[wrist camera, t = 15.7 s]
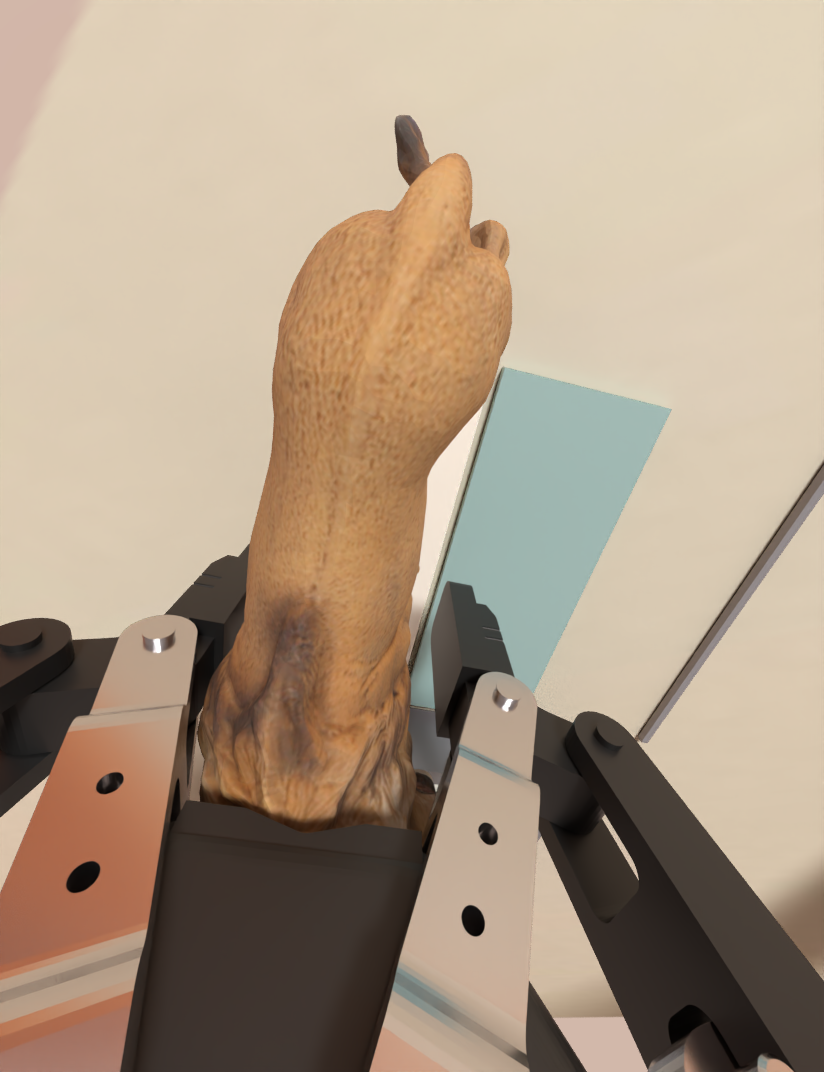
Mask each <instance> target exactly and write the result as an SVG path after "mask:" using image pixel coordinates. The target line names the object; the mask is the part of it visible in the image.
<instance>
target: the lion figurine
mask: <svg viewBox="0 0 824 1072" xmlns="http://www.w3.org/2000/svg"><path fill="white" fill-rule="evenodd" d="M395 135H396V143H397V159H398V167H399V170H400V172H401V174H402V176H403V178H404V179H405V180H406V182H407V183H408V185H409V186H410V187H409V189H408V191H407V192H406V194H405V196H404V197H403V199H402V200H401V202H400V203H399V204H398V206H397V207H396V208H395V209H394V210H392V211H383V210H373V211H367V212H362V213H360V214H357V215H355V216H352V217H350V218H349V219H347V220H345V221H344V222H342V223H340V224H339V225H337V226H335V227H333V228H332V229H330V230H329V231H328V232H327V233H326V234H325V235H324V236H323V237H322V238H321V239H320V240H319V241H318V243H317V244H316V245H315V247H314V248H313V250H312V251H311V253H310V254H309V256H308V257H307V259H306V261H305V263H304V265H303V266H302V268H301V270H300V272H299V274H298V276H297V278H296V280H295V282H294V284H293V286H292V288H291V291H290V294H289V296H288V299H287V302H286V304H285V307H284V310H283V313H282V316H281V320H280V323H279V333H278V344H277V350H276V357H275V363H274V368H273V382H272V399H273V410H274V427H273V441H272V452H271V458H270V463H269V468H268V472H267V476H266V480H265V484H264V488H263V492H262V496H261V500H260V504H259V508H258V512H257V516H256V521H255V524H254V528H253V532H252V536H251V541H250V546H249V557H248V569H247V583H246V601H245V609H244V623H243V624H242V626H241V628H240V630H239V632H238V634H237V636H236V639H235V642H234V645H233V648H232V649H231V650H230V651H229V653H228V654H227V655H226V656H225V658H224V659H223V660H222V662H221V663H220V664H219V666H218V668H217V669H216V671H215V672H214V674H213V676H212V678H211V680H210V683H209V686H208V689H207V692H206V696H205V700H204V707H203V711H202V713H201V716H200V722H199V726H198V731H197V735H198V742H199V746H200V749H201V753H202V755H203V757H204V759H205V760H204V766H203V773H202V777H201V786H200V802H205V803H212V804H220V805H228V806H235V807H243V808H248V809H250V810H252V811H254V812H256V813H259V814H261V815H263V816H265V817H267V818H270V819H272V820H274V821H276V822H279V823H281V824H283V825H285V826H287V827H290V828H292V829H294V830H296V831H299V832H302V833H312V832H318V831H324V830H331V829H337V828H343V827H350V826H356V825H363V824H371V825H378V826H386V827H393V828H401V829H408V830H416V831H422V836H423V832H424V829H425V826H426V823H427V819H428V816H429V813H430V810H431V807H432V804H433V800H434V797H435V794H436V791H435V786H434V783H433V779H432V777H431V775H430V774H429V772H427V771H425V770H420V769H414V768H413V763H412V737H411V734H410V732H409V731H408V723H409V714H410V705H411V679H410V675H409V668H408V664H407V661H406V656H407V652H408V649H409V646H410V641H411V632H410V628H409V620H410V615H411V610H412V600H413V599H412V590H413V587H414V584H415V580H416V576H417V574H418V573H419V570H420V566H419V562H420V554H421V547H422V539H423V531H424V522H425V513H426V503H427V478H428V476H429V473H430V471H431V468H432V467H433V465H434V464H435V462H436V461H437V459H438V458H439V456H440V455H441V454H442V453H443V452H444V450H445V449H446V448H447V447H448V446H449V444H450V443H451V442H452V441H453V439H454V438H455V437H456V436H457V435H458V433H459V432H460V431H461V430H462V429H463V427H464V426H465V425H466V424H467V423H468V422H469V421H470V419H471V418H472V417H473V416H474V415H475V414H476V413H477V412H478V411H479V409H480V408H481V407H482V405H483V404H484V403H485V401H486V399H487V397H488V394H489V392H490V390H491V388H492V386H493V382H494V379H495V376H496V372H497V369H498V366H499V361H500V357H501V355H502V353H503V351H504V349H505V347H506V345H507V342H508V339H509V335H510V329H511V324H512V293H511V285H510V280H509V276H508V272H507V270H506V268H505V263H506V261H507V258H508V256H509V240H508V236H507V232H506V229H505V228H504V227H503V225H501V224H500V223H498V222H497V221H493V220H487V221H484V222H482V223H480V224H478V225H476V226H474V227H473V228H471V229H470V225H469V222H470V215H471V209H472V179H471V172H470V169H469V166H468V163H467V161H466V160H465V159H464V158H463V157H462V156H461V155H459V154H456V153H453V154H447V155H445V156H443V157H440V158H439V159H437V160H436V161H435V162H434V163H433V164H432V165H431V163H429V154H428V152H427V150H426V149H425V147H424V143H423V139H422V134H421V131H420V129H419V128H418V126H417V124H416V122H415V121H414V120H413V119H412V118H411V117H410V116H408V115H399V116H397V117H396V119H395Z"/></svg>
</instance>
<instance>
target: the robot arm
mask: <svg viewBox="0 0 824 1072" xmlns="http://www.w3.org/2000/svg"><path fill="white" fill-rule="evenodd" d="M249 546H250V544H249V545H248V546H247V547H246V548H245V550H244V551H243V552H242V553H241V555H240V556H239V557H235V556H230V555H227V556H225V557H223V558H221V559H219V560H217V561H215V562H213V563H211V565H210V566H209V567H208V568H207V569H206V570H205V571H204V572H203V573H202V576H199V578H198V579H197V580H196V581H195V582H194V585H191V586H190V587H189V588H188V589H187V591H186V592H185V593H184V594H183V595H182V596H181V597H180V598H179V599H178V600H177V601H176V603H175V604H174V605H173V606H172V607H171V608H170V609H169V610H168V611H167V612H166V613H165V614H164V615H158V616H152V617H149V618H145V619H142V620H140V621H137V622H135V623H133V624H132V625H130V626H129V627H128V628H126V629H125V630H124V631H123V632H122V634H121V635H120V637H116V638H102V639H82V640H72V635H71V630H70V628H69V626H68V625H66V624H65V623H63V622H61V621H59V620H55V619H49V618H32V619H24V620H19V621H15V622H11V623H8V624H5V625H2V626H0V817H1V816H3V815H4V814H5V813H6V812H7V811H8V810H9V809H11V808H12V807H13V806H14V805H15V804H16V803H17V802H19V801H20V800H21V799H22V798H23V797H24V796H25V795H27V794H28V793H29V792H30V791H31V790H32V789H33V788H35V787H36V786H37V785H38V784H39V783H40V782H42V781H43V780H44V779H45V778H46V777H47V776H48V775H49V777H48V780H47V782H46V784H45V787H44V789H43V792H42V794H41V796H40V799H39V801H38V804H37V806H36V808H35V811H34V813H33V816H32V818H31V820H30V823H29V825H28V828H27V830H26V832H25V835H24V837H23V840H22V842H21V844H20V847H19V849H18V852H17V854H16V856H15V859H14V861H13V864H12V866H11V868H10V871H9V873H8V876H7V878H6V880H5V883H4V885H3V887H2V890H1V892H0V1072H587V1071H586V1070H585V1068H584V1067H583V1065H582V1063H581V1062H580V1060H579V1059H578V1057H577V1056H576V1054H575V1052H574V1051H573V1049H572V1048H571V1046H570V1045H569V1043H568V1041H567V1040H566V1038H565V1037H564V1035H563V1034H562V1032H561V1030H560V1029H559V1027H558V1026H557V1024H556V1022H555V1021H554V1019H553V1018H552V1016H551V1014H550V1013H549V1011H548V1010H547V1008H546V1007H545V1005H544V1003H543V1002H542V1000H541V999H540V997H539V996H538V994H537V992H536V991H535V989H534V988H533V986H532V984H531V983H530V981H529V970H530V954H531V937H532V921H533V905H534V889H535V873H536V857H537V841H538V829H539V832H540V834H541V836H542V838H543V840H544V843H545V845H546V847H547V849H548V851H549V854H550V856H551V858H552V860H553V862H554V865H555V867H556V869H557V871H558V873H559V876H560V878H561V880H562V882H563V884H564V887H565V889H566V891H567V893H568V895H569V898H570V900H571V902H572V904H573V906H574V909H575V911H576V913H577V915H578V917H579V920H580V922H581V924H582V926H583V928H584V931H585V933H586V935H587V937H588V939H589V942H590V944H591V946H592V948H593V950H594V953H595V955H596V957H597V959H598V961H599V964H600V966H601V968H602V970H603V972H604V975H605V977H606V979H607V981H608V983H609V986H610V988H611V990H612V992H613V994H614V997H615V999H616V1001H617V1003H618V1005H619V1008H620V1010H621V1012H622V1014H623V1016H624V1018H625V1021H626V1023H627V1025H628V1027H629V1029H630V1032H631V1034H632V1036H633V1038H634V1041H635V1042H636V1045H637V1047H638V1049H639V1051H640V1053H641V1056H642V1058H643V1060H644V1063H645V1064H646V1067H647V1069H648V1072H824V981H823V980H822V978H821V977H820V976H819V974H818V973H817V972H816V971H815V969H814V968H813V967H812V965H811V964H810V963H809V962H808V960H807V959H806V958H805V956H804V955H803V954H802V953H801V951H800V950H799V949H798V948H797V946H796V945H795V944H794V942H793V941H792V940H791V939H790V937H789V936H788V935H787V933H786V932H785V931H784V930H783V928H782V927H781V926H780V924H779V923H778V922H777V921H776V919H775V918H774V917H773V916H772V914H771V913H770V912H769V910H768V909H767V908H766V907H765V905H764V904H763V903H762V901H761V900H760V899H759V898H758V896H757V895H756V894H755V893H754V891H753V890H752V889H751V887H750V886H749V885H748V884H747V882H746V881H745V880H744V878H743V877H742V876H741V875H740V873H739V872H738V871H737V869H736V868H735V867H734V866H733V864H732V863H731V862H730V861H729V859H728V858H727V857H726V855H725V854H724V853H723V852H722V850H721V849H720V848H719V846H718V845H717V844H716V843H715V841H714V840H713V839H712V837H711V836H710V835H709V834H708V832H707V831H706V830H705V829H704V827H703V826H702V825H701V823H700V822H699V821H698V820H697V818H696V817H695V816H694V814H693V813H692V812H691V811H690V809H689V808H688V807H687V806H686V804H685V803H684V802H683V800H682V799H681V798H680V797H679V795H678V794H677V793H676V791H675V790H674V789H673V788H672V786H671V785H670V784H669V782H668V781H667V780H666V779H665V777H664V776H663V775H662V774H661V772H660V771H659V770H658V768H657V767H656V766H655V765H654V763H653V762H652V761H651V759H650V758H649V757H648V756H647V754H646V753H645V752H644V750H643V749H642V748H641V747H640V745H639V744H638V743H637V742H636V740H635V739H634V738H633V736H632V735H631V734H630V733H629V732H628V731H627V730H626V729H625V728H624V727H623V726H621V725H620V724H619V723H618V722H616V721H615V720H613V719H611V718H609V717H608V716H605V715H603V714H600V713H597V712H589V711H587V712H582V713H580V714H579V715H578V716H577V717H576V719H575V720H574V722H573V723H572V722H569V721H567V720H565V719H563V718H560V717H558V716H556V715H553V714H551V713H549V712H547V711H545V710H543V709H541V708H539V707H538V706H537V702H536V699H535V696H534V695H533V693H532V692H531V690H530V689H529V688H528V687H527V686H526V685H525V684H524V683H523V682H521V681H520V680H518V679H517V678H515V676H514V673H513V670H512V667H511V663H510V660H509V657H508V654H507V650H506V647H505V644H504V642H503V638H502V634H501V632H500V628H499V625H498V621H497V618H496V616H495V615H494V614H493V613H492V611H491V610H490V609H489V608H488V607H487V605H484V604H479V603H476V599H475V595H474V591H473V587H472V586H471V585H467V584H461V583H456V582H451V581H447V582H446V584H445V586H444V589H443V593H442V596H441V599H440V602H439V606H438V609H437V612H436V615H435V619H434V622H433V626H432V632H431V655H432V671H433V687H434V703H435V719H436V735H437V737H443V738H449V739H450V746H451V750H450V752H449V755H448V757H447V760H446V763H445V766H444V769H443V772H442V775H441V778H440V782H439V785H438V788H437V791H436V794H435V797H434V800H433V804H432V807H431V810H430V813H429V816H428V819H427V823H426V826H425V829H424V832H423V836H422V831H416V830H408V829H401V828H393V827H386V826H378V825H371V824H363V825H356V826H350V827H343V828H337V829H331V830H324V831H318V832H312V833H302V832H299V831H296V830H294V829H292V828H290V827H287V826H285V825H283V824H281V823H279V822H276V821H274V820H272V819H270V818H267V817H265V816H263V815H261V814H259V813H256V812H254V811H252V810H250V809H248V808H243V807H235V806H228V805H220V804H212V803H205V802H197V801H190V800H189V797H190V788H191V779H192V770H193V762H194V753H195V744H196V735H197V727H198V714H199V712H200V711H201V709H202V707H203V705H204V700H205V696H206V692H207V689H208V686H209V683H210V680H211V678H212V676H213V674H214V672H215V671H216V669H217V668H218V666H219V664H220V663H221V662H222V660H223V659H224V658H225V656H226V655H227V654H228V653H229V651H230V650H231V649H232V648H233V645H234V642H235V639H236V636H237V634H238V632H239V630H240V628H241V626H242V624H243V623H244V609H245V601H246V583H247V569H248V557H249ZM604 815H606V816H607V818H608V820H609V821H610V823H611V825H612V826H613V828H614V830H615V831H616V833H617V835H618V836H619V838H620V840H621V841H622V843H623V844H624V846H625V848H626V849H627V851H628V853H629V854H630V856H631V858H632V860H633V862H634V864H635V866H636V869H637V873H638V878H639V881H638V879H637V877H636V875H635V874H634V872H633V870H632V869H631V867H630V865H629V864H628V862H627V860H626V859H625V857H624V855H623V854H622V852H621V850H620V848H619V847H618V845H617V843H616V842H615V840H614V838H613V837H612V835H611V833H610V832H609V830H608V828H607V826H606V825H605V823H604V821H603V820H602V817H603V816H604Z"/></svg>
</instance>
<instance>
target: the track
mask: <svg viewBox="0 0 824 1072" xmlns="http://www.w3.org/2000/svg"><path fill="white" fill-rule="evenodd" d="M482 408H483V405H482V407H481V408H480V409H479V411H478V412H477V413H476V414H475V415H474V416H473V417H472V418H471V419H470V421H469V422H468V423H467V424H466V425H465V426H464V427H463V429H462V430H461V431H460V432H459V433H458V435H457V436H456V437H455V438H454V439H453V441H452V442H451V443H450V444H449V446H448V447H447V448H446V449H445V450H444V452H443V453H442V454H441V455H440V456H439V458H438V459H437V461H436V462H435V464H434V465H433V467H432V468H431V471H430V473H429V476H428V478H427V503H426V513H425V522H424V531H423V539H422V547H421V554H420V562H419V566H420V570H419V573H418V574H417V576H416V580H415V584H414V587H413V590H412V599H413V600H412V610H411V615H410V620H409V628H410V632H411V641H410V646H409V649H408V652H407V656H406V661H407V664H408V662H409V659H410V656H411V652H412V649H413V645H414V642H415V638H416V635H417V631H418V628H419V625H420V621H421V618H422V614H423V611H424V607H425V604H426V600H427V597H428V594H429V590H430V587H431V583H432V580H433V576H434V573H435V569H436V566H437V563H438V559H439V556H440V552H441V549H442V545H443V542H444V538H445V535H446V532H447V528H448V525H449V521H450V518H451V514H452V511H453V507H454V504H455V501H456V497H457V494H458V490H459V487H460V483H461V480H462V476H463V473H464V470H465V466H466V463H467V459H468V456H469V452H470V449H471V446H472V442H473V439H474V435H475V432H476V428H477V425H478V421H479V418H480V415H481V411H482ZM671 410H672V409H669V408H665V407H661V406H657V405H653V404H649V403H645V402H641V401H637V400H633V399H629V398H625V397H621V396H617V395H613V394H609V393H605V392H601V391H597V390H593V389H589V388H585V387H581V386H577V385H573V384H569V383H565V382H561V381H557V380H553V379H549V378H545V377H541V376H537V375H533V374H529V373H525V372H521V371H517V370H513V369H509V368H505V367H503V368H502V371H501V375H500V378H499V381H498V385H497V388H496V391H495V395H494V398H493V401H492V405H491V408H490V411H489V415H488V418H487V421H486V425H485V428H484V431H483V435H482V438H481V442H480V445H479V448H478V452H477V455H476V458H475V462H474V465H473V468H472V472H471V475H470V478H469V482H468V485H467V488H466V492H465V495H464V498H463V502H462V505H461V508H460V512H459V515H458V518H457V522H456V525H455V529H454V532H453V535H452V539H451V542H450V545H449V549H448V552H447V555H446V559H445V562H444V565H443V569H442V572H441V575H440V579H439V582H438V585H437V589H436V592H435V595H434V599H433V602H432V606H431V609H430V612H429V616H428V619H427V622H426V626H425V629H424V632H423V636H422V639H421V642H420V646H419V649H418V652H417V656H416V659H415V662H414V666H413V669H412V672H411V676H410V679H411V705H414V706H420V707H426V708H432V709H435V703H434V687H433V671H432V655H431V632H432V626H433V622H434V619H435V615H436V612H437V609H438V606H439V602H440V599H441V596H442V593H443V589H444V586H445V584H446V582H447V581H451V582H456V583H461V584H467V585H471V586H472V587H473V591H474V595H475V599H476V603H479V604H484V605H487V607H488V608H489V609H490V610H491V611H492V613H493V614H494V615H495V616H496V618H497V621H498V625H499V628H500V632H501V634H502V638H503V642H504V644H505V647H506V650H507V654H508V657H509V660H510V663H511V667H512V670H513V673H514V676H515V678H517V679H518V680H520V681H521V682H523V683H524V684H525V685H526V686H527V687H528V688H529V689H530V690H531V692H532V693H534V691H535V689H536V687H537V685H538V683H539V681H540V679H541V677H542V674H543V672H544V670H545V668H546V666H547V664H548V662H549V660H550V658H551V656H552V654H553V652H554V650H555V648H556V646H557V644H558V642H559V640H560V638H561V635H562V633H563V631H564V629H565V627H566V625H567V623H568V621H569V619H570V617H571V615H572V613H573V611H574V609H575V607H576V605H577V603H578V601H579V599H580V596H581V594H582V592H583V590H584V588H585V586H586V584H587V582H588V580H589V578H590V576H591V574H592V572H593V570H594V568H595V566H596V564H597V562H598V560H599V557H600V555H601V553H602V551H603V549H604V547H605V545H606V543H607V541H608V539H609V537H610V535H611V533H612V531H613V529H614V527H615V525H616V523H617V521H618V518H619V516H620V514H621V512H622V510H623V508H624V506H625V504H626V502H627V500H628V498H629V496H630V494H631V492H632V490H633V488H634V486H635V484H636V482H637V479H638V477H639V475H640V473H641V471H642V469H643V467H644V465H645V463H646V461H647V459H648V457H649V455H650V453H651V451H652V449H653V447H654V445H655V443H656V440H657V438H658V436H659V434H660V432H661V430H662V428H663V426H664V424H665V422H666V420H667V418H668V416H669V414H670V412H671ZM823 494H824V465H823V467H822V468H821V470H820V471H819V473H818V474H817V475H816V477H815V478H814V480H813V481H812V483H811V484H810V486H809V487H808V489H807V490H806V492H805V493H804V494H803V496H802V497H801V499H800V500H799V502H798V503H797V505H796V506H795V508H794V509H793V510H792V512H791V513H790V515H789V516H788V518H787V519H786V521H785V522H784V524H783V525H782V527H781V528H780V529H779V531H778V532H777V534H776V535H775V537H774V538H773V540H772V541H771V543H770V544H769V546H768V547H767V548H766V550H765V551H764V553H763V554H762V556H761V557H760V559H759V560H758V562H757V563H756V565H755V566H754V567H753V569H752V570H751V572H750V573H749V575H748V576H747V578H746V579H745V581H744V582H743V584H742V585H741V586H740V588H739V589H738V591H737V592H736V594H735V595H734V597H733V598H732V600H731V601H730V603H729V604H728V605H727V607H726V608H725V610H724V611H723V613H722V614H721V616H720V617H719V619H718V620H717V622H716V623H715V624H714V626H713V627H712V629H711V630H710V632H709V633H708V635H707V636H706V638H705V639H704V641H703V642H702V643H701V645H700V646H699V648H698V649H697V651H696V652H695V654H694V655H693V657H692V658H691V660H690V661H689V662H688V664H687V665H686V667H685V668H684V670H683V671H682V673H681V674H680V676H679V677H678V679H677V680H676V681H675V683H674V684H673V686H672V687H671V689H670V690H669V692H668V693H667V695H666V696H665V698H664V699H663V700H662V702H661V703H660V705H659V706H658V708H657V709H656V711H655V712H654V714H653V715H652V717H651V718H650V719H649V721H648V722H647V724H646V725H645V727H644V728H643V730H642V731H641V733H640V734H639V736H638V737H639V739H640V741H641V742H644V743H648V742H649V740H650V739H651V737H652V736H653V734H654V733H655V732H656V730H657V729H658V727H659V726H660V725H661V723H662V722H663V720H664V719H665V718H666V716H667V715H668V713H669V712H670V710H671V709H672V708H673V706H674V705H675V703H676V702H677V701H678V699H679V698H680V696H681V695H682V693H683V692H684V691H685V689H686V688H687V686H688V685H689V684H690V682H691V681H692V679H693V678H694V676H695V675H696V674H697V672H698V671H699V669H700V668H701V667H702V665H703V664H704V662H705V661H706V660H707V658H708V657H709V655H710V654H711V652H712V651H713V650H714V648H715V647H716V645H717V644H718V643H719V641H720V640H721V638H722V637H723V635H724V634H725V633H726V631H727V630H728V628H729V627H730V626H731V624H732V623H733V621H734V620H735V618H736V617H737V616H738V614H739V613H740V611H741V610H742V609H743V607H744V606H745V604H746V603H747V601H748V600H749V599H750V597H751V596H752V594H753V593H754V592H755V590H756V589H757V587H758V586H759V585H760V583H761V582H762V580H763V579H764V577H765V576H766V575H767V573H768V572H769V570H770V569H771V568H772V566H773V565H774V563H775V562H776V560H777V559H778V558H779V556H780V555H781V553H782V552H783V551H784V549H785V548H786V546H787V545H788V543H789V542H790V541H791V539H792V538H793V536H794V535H795V534H796V532H797V531H798V529H799V528H800V527H801V525H802V524H803V522H804V521H805V519H806V518H807V517H808V515H809V514H810V512H811V511H812V510H813V508H814V507H815V505H816V504H817V502H818V501H819V500H820V498H821V497H822V495H823Z"/></svg>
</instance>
